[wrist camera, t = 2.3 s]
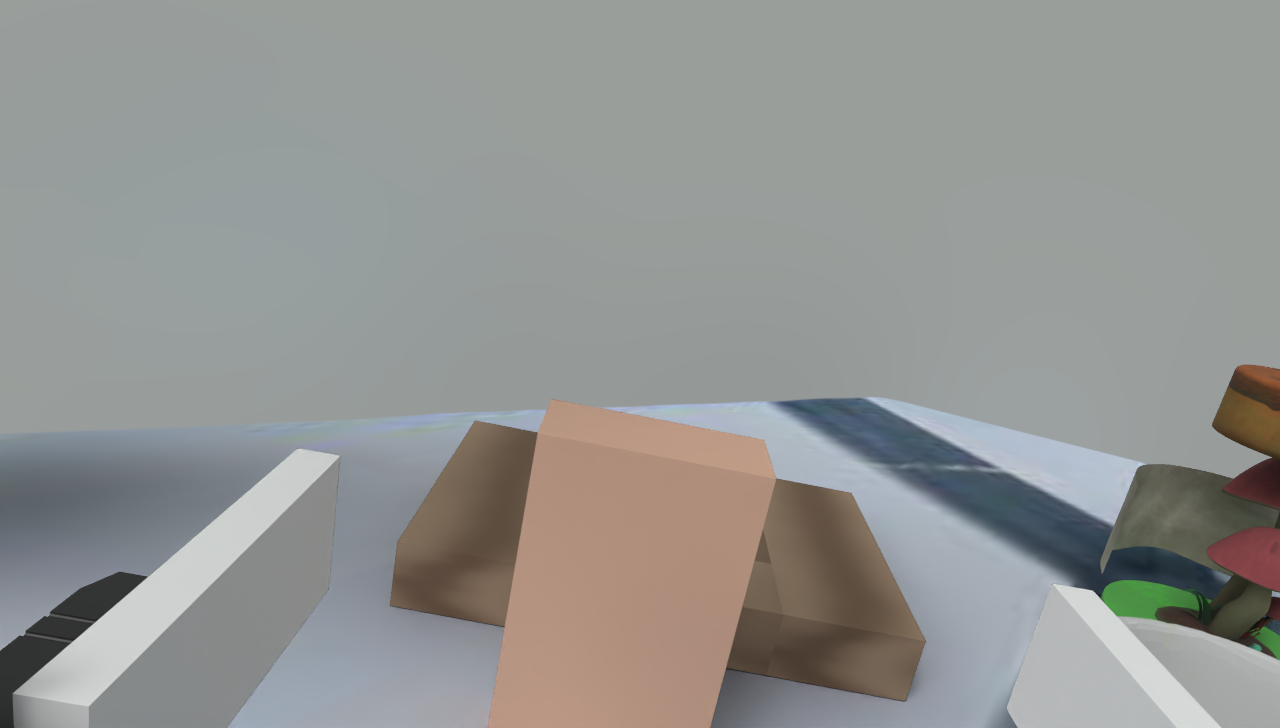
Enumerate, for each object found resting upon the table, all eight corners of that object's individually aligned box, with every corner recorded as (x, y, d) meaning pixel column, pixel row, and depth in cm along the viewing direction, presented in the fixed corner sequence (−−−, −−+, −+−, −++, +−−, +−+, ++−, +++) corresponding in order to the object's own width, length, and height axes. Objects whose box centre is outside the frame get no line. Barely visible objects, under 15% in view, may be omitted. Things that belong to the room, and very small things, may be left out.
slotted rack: (389, 605, 34) (397, 541, 33) (468, 468, 47) (475, 420, 46) (905, 701, 34) (925, 641, 33) (837, 538, 48) (851, 493, 47)
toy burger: (1394, 702, 42) (1540, 439, 38) (1258, 741, 37) (1411, 436, 32) (1174, 575, 52) (1271, 355, 48) (1041, 589, 47) (1137, 342, 42)
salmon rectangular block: (480, 767, 27) (537, 433, 23) (499, 704, 30) (551, 398, 26) (689, 804, 27) (776, 478, 24) (687, 739, 30) (763, 439, 26)
